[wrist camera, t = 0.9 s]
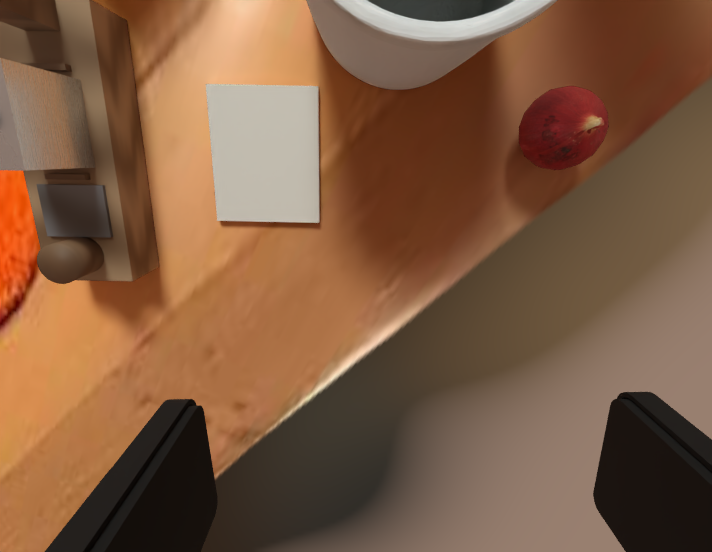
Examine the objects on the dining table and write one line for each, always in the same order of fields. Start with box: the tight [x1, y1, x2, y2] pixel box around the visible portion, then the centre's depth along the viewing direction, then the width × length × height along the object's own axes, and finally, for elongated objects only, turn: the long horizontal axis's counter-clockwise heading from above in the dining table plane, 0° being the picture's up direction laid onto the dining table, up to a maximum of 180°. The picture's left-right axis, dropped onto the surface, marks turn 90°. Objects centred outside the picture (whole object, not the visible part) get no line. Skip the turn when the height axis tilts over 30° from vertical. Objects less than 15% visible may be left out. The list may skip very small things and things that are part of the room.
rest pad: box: [206, 84, 320, 223], centre depth 33 cm, size 11×9×1 cm
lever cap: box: [0, 58, 95, 170], centre depth 25 cm, size 6×4×7 cm, turn 179°
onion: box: [519, 86, 609, 170], centre depth 29 cm, size 6×6×8 cm
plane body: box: [0, 0, 159, 284], centre depth 29 cm, size 20×7×10 cm, turn 179°
